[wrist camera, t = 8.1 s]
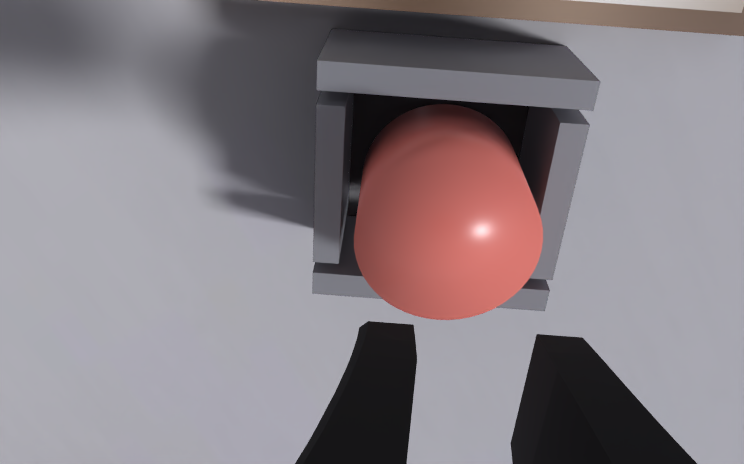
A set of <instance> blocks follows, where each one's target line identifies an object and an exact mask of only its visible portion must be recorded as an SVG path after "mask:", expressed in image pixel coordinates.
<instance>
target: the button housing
mask: <svg viewBox="0 0 744 464" xmlns="http://www.w3.org/2000/svg"><path fill="white" fill-rule="evenodd" d="M599 85H600V81H599V80H598V79H597V78H596V76H595V75H594V74H593V73H592V72H591V71H590V70H589V69H588V68H587V67H586V66H585V65H584V64H583V63H582V62H581V61H580V60H579V59H578V58H577V57H576V56H575V55H574V53H573V52H572V51H571V50H570V49H569V48H568V47H567V46H560V45H546V44H533V43H519V42H506V41H492V40H478V39H465V38H451V37H438V36H424V35H411V34H397V33H383V32H370V31H356V30H343V29H332V30H331V32H330V34H329V36H328V38H327V40H326V43H325V45H324V47H323V49H322V51H321V53H320V55H319V58H318V60H317V90H320V91H321V93H320V96H319V99H318V101H317V104H316V141H315V190H314V238H313V262H315V265H314V270H313V287H312V294H325V295H338V296H351V297H364V298H377V299H382V298H381V297H380V296H379V295H378V294H377V293H376V292H375V291H374V290H373V289H372V288H371V287H370V286H369V284H368V283H367V281H366V280H365V278H364V277H363V275H362V273H361V271H360V269H359V266H358V263H357V260H356V256H355V250H354V232H355V225H356V217H357V216H349V215H347V210H348V200H349V180H350V160H351V140H352V120H353V100H354V93H361V94H374V95H388V96H401V97H414V98H428V99H441V100H455V101H468V102H482V103H495V104H509V105H522V106H529V111H528V116H527V121H526V126H525V132H524V137H523V142H522V148H521V153H520V158H519V163H520V166H521V168H522V171H523V173H524V176H525V178H526V181H527V183H528V186H529V188H530V191H531V193H532V195H533V198H534V200H535V203H536V205H537V208H538V211H539V214H540V217H541V221H542V227H543V244H542V251H541V254H540V258H539V261H538V263H537V265H536V268H535V270H534V272H533V273H532V275H531V276H530V278H529V279H528V281H527V282H526V283H525V284H524V286H523V287H522V288H521V289H520V290H519V291H518V292H517V293H516V294H515V295H514V296H513V297H511V298H510V299H508V300H507V301H506V302H504V303H503V304H501V305H499V306H497V307H496V308H508V309H521V310H535V311H545V308H546V304H547V300H548V296H549V292H550V290H549V287H548V284H547V281H546V280H552V279H553V275H554V271H555V267H556V263H557V259H558V254H559V250H560V246H561V242H562V238H563V234H564V230H565V226H566V221H567V217H568V213H569V209H570V205H571V201H572V197H573V192H574V188H575V184H576V180H577V176H578V172H579V168H580V163H581V159H582V155H583V151H584V147H585V143H586V139H587V134H588V130H589V126H590V125H589V123H588V122H587V121H586V119H585V118H584V117H583V115H582V114H581V113H580V111H579V110H589V111H593V110H594V105H595V101H596V97H597V93H598V89H599Z"/></svg>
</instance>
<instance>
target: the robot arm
mask: <svg viewBox="0 0 744 464" xmlns="http://www.w3.org/2000/svg"><path fill="white" fill-rule="evenodd" d="M416 364H417V355H416V343H415V334H414V325H409V324H396V323H383V322H370V321H368V322H367V323H365V324H364V325H362V326H361V327H360V328H359V332H358V337H357V341H356V344H355V347H354V350H353V353H352V355H351V358H350V361H349V363H348V365H347V368H346V370H345V372H344V375H343V377H342V379H341V381H340V383H339V385H338V388H337V390H336V392H335V394H334V396H333V398H332V399H331V401H330V403H329V405H328V407H327V409H326V411H325V413H324V415H323V416H322V418H321V420H320V422H319V424H318V426H317V428H316V430H315V431H314V433H313V435H312V437H311V439H310V440H309V442H308V444H307V445H306V447H305V449H304V450H303V452H302V453H301V455H300V457H299V458H298V460H297V461H296V463H295V464H406V462H407V452H408V442H409V433H410V423H411V413H412V403H413V393H414V384H415V374H416ZM511 450H512V461H513V464H697V463H696V462H695V461H694V460H693V459H692V458H691V457H690V456H689V455H688V454H687V453H686V452H685V450H684V449H683V448H682V447H681V446H680V445H679V444H678V443H677V442H676V441H675V440H674V439H673V438H672V437H671V436H670V434H669V433H668V432H667V431H666V430H665V429H664V428H663V427H662V426H661V425H660V424H659V422H658V421H657V420H656V419H655V418H654V417H653V416H652V415H651V414H650V413H649V412H648V410H647V409H646V408H645V407H644V406H643V405H642V404H641V403H640V401H639V400H638V399H637V398H636V397H635V396H634V395H633V394H632V393H631V391H630V390H629V389H628V388H627V387H626V386H625V385H624V384H623V382H622V381H621V380H620V379H619V378H618V377H617V376H616V374H615V373H614V372H613V371H612V370H611V369H610V368H609V367H608V365H607V364H606V363H605V362H604V361H603V360H602V359H601V357H600V356H599V355H598V354H597V353H596V352H595V351H594V350H593V349H592V347H591V346H590V345H589V344H588V343H587V342H586V341H585V340H584V339H583V338H579V337H566V336H553V335H540V334H537V336H536V340H535V344H534V348H533V352H532V357H531V361H530V365H529V369H528V373H527V378H526V382H525V386H524V390H523V394H522V398H521V403H520V407H519V411H518V415H517V419H516V424H515V428H514V432H513V436H512V440H511Z"/></svg>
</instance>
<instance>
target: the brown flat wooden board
mask: <svg viewBox="0 0 744 464" xmlns="http://www.w3.org/2000/svg"><path fill="white" fill-rule="evenodd" d="M260 1H273V2H287V3H301V4H314V5H328V6H341V7H355V8H369V9H382V10H396V11H409V12H423V13H437V14H450V15H464V16H478V17H491V18H505V19H518V20H532V21H546V22H559V23H573V24H586V25H600V26H614V27H627V28H641V29H655V30H668V31H682V32H695V33H709V34H723V35H736V36H744V0H260Z"/></svg>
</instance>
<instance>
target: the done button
mask: <svg viewBox="0 0 744 464" xmlns="http://www.w3.org/2000/svg"><path fill="white" fill-rule="evenodd" d="M542 244H543V227H542V221H541V217H540V214H539V211H538V208H537V205H536V203H535V200H534V198H533V195H532V193H531V191H530V188H529V186H528V183H527V181H526V178H525V176H524V173H523V171H522V168H521V166H520V163H519V161H518V158H517V156H516V153H515V151H514V149H513V146H512V144H511V142H510V140H509V139H508V137H507V136H506V134H505V133H504V132H503V130H502V129H501V128H500V127H499V126H498V125H497V124H496V123H494V122H493V121H492V120H491V119H489V118H488V117H486V116H485V115H483V114H481V113H480V112H477V111H475V110H472V109H470V108H467V107H463V106H459V105H452V104H435V105H427V106H423V107H419V108H416V109H413V110H410V111H408V112H406V113H404V114H402V115H400V116H398V117H397V118H395V119H394V120H393V121H391V122H390V123H389V124H387V125H386V126H385V127H384V128H383V129H382V130H381V131H380V133H379V134H378V135H377V136H376V138H375V139H374V141H373V142H372V144H371V146H370V148H369V150H368V152H367V155H366V158H365V161H364V166H363V173H362V181H361V188H360V195H359V203H358V210H357V217H356V225H355V232H354V250H355V256H356V260H357V263H358V266H359V269H360V271H361V273H362V275H363V277H364V278H365V280H366V281H367V283H368V284H369V286H370V287H371V288H372V289H373V290H374V291H375V292H376V293H377V294H378V295H379V296H380V297H381V298H382V299H384V300H385V301H386V302H388V303H389V304H391V305H392V306H394V307H396V308H398V309H400V310H402V311H404V312H407V313H409V314H412V315H415V316H419V317H423V318H429V319H437V320H453V319H462V318H467V317H472V316H476V315H479V314H482V313H485V312H487V311H489V310H492V309H494V308H496V307H497V306H499V305H501V304H503V303H504V302H506V301H507V300H508V299H510V298H511V297H513V296H514V295H515V294H516V293H517V292H518V291H519V290H520V289H521V288H522V287H523V286H524V284H525V283H526V282H527V281H528V279H529V278H530V276H531V275H532V273H533V272H534V270H535V268H536V265H537V263H538V261H539V258H540V254H541V251H542Z"/></svg>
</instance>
